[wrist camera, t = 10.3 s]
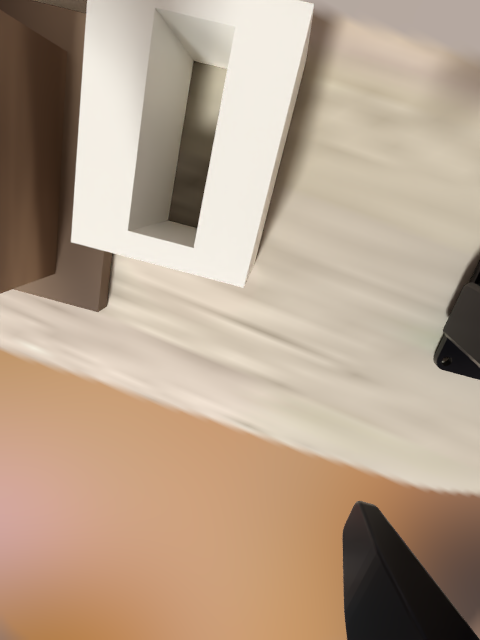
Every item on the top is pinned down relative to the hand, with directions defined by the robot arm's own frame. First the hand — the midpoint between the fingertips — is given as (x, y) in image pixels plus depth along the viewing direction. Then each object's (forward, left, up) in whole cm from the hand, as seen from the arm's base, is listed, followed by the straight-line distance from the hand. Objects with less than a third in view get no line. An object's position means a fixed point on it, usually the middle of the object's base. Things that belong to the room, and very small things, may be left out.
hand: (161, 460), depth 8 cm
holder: (+3, -7, -12) cm, 14 cm away
